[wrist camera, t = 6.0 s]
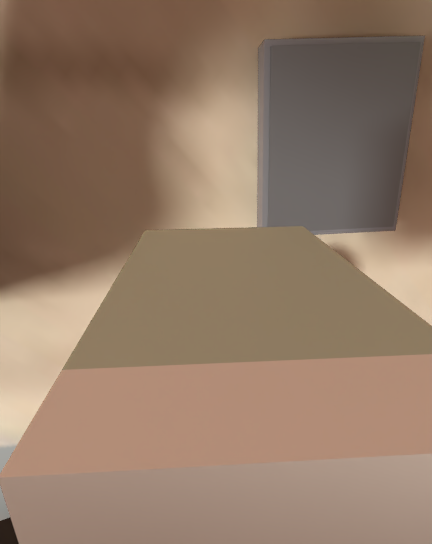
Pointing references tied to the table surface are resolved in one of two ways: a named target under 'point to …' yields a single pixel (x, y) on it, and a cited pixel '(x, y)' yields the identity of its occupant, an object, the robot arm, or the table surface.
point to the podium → (334, 131)
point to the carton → (234, 404)
